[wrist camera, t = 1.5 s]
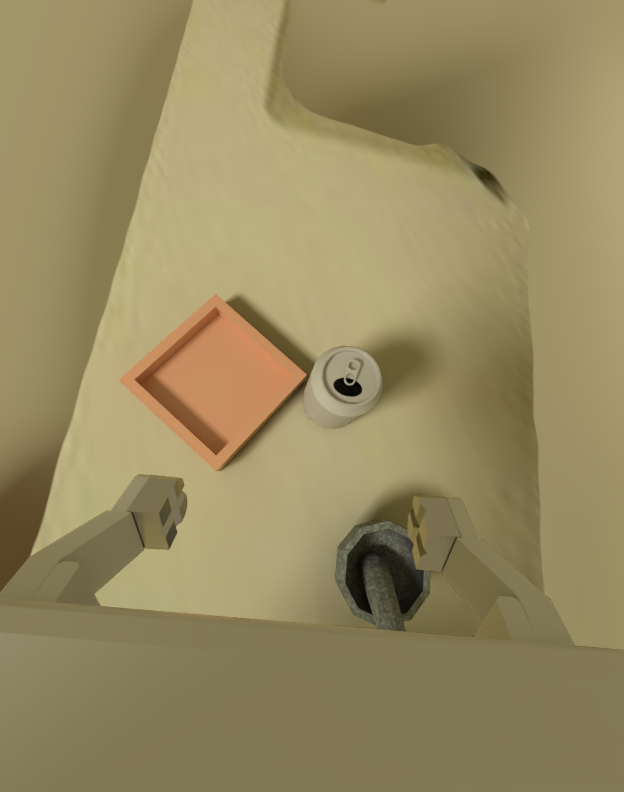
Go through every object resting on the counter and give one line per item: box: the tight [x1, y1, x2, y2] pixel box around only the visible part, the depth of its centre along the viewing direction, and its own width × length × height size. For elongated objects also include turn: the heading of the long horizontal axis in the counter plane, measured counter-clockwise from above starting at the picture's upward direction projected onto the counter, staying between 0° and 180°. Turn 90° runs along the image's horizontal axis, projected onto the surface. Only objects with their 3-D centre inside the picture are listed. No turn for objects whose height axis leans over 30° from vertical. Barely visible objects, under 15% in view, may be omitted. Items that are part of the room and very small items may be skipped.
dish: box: [119, 294, 307, 471], centre depth 41 cm, size 15×15×3 cm
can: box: [303, 346, 383, 429], centre depth 38 cm, size 8×8×12 cm
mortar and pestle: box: [335, 519, 430, 632], centre depth 34 cm, size 11×9×12 cm
